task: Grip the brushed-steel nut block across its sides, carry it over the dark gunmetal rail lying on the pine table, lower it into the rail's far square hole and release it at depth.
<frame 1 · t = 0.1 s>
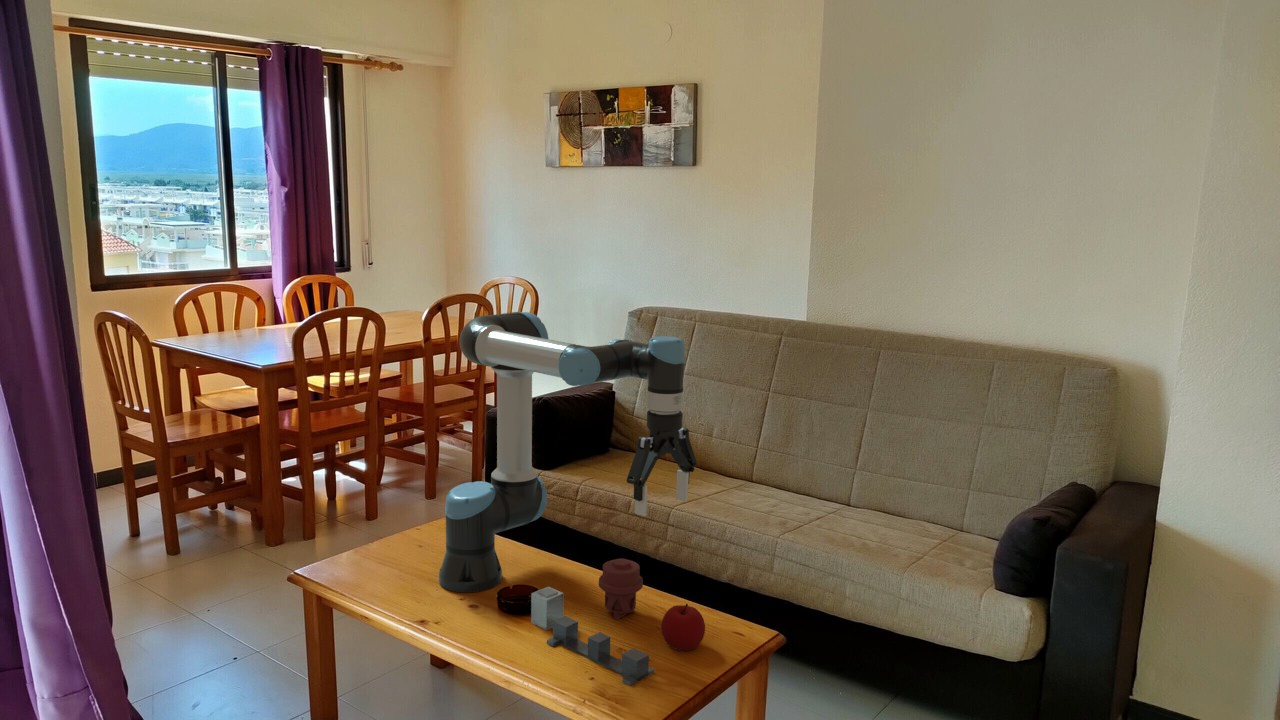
hand: (661, 507, 194), 28 cm above the table, fingers open, 13 cm apart
mechanical component: (620, 613, 206), on the table
apple: (682, 647, 191), on the table
nut block: (547, 623, 200), on the table
rail: (598, 657, 185), on the table
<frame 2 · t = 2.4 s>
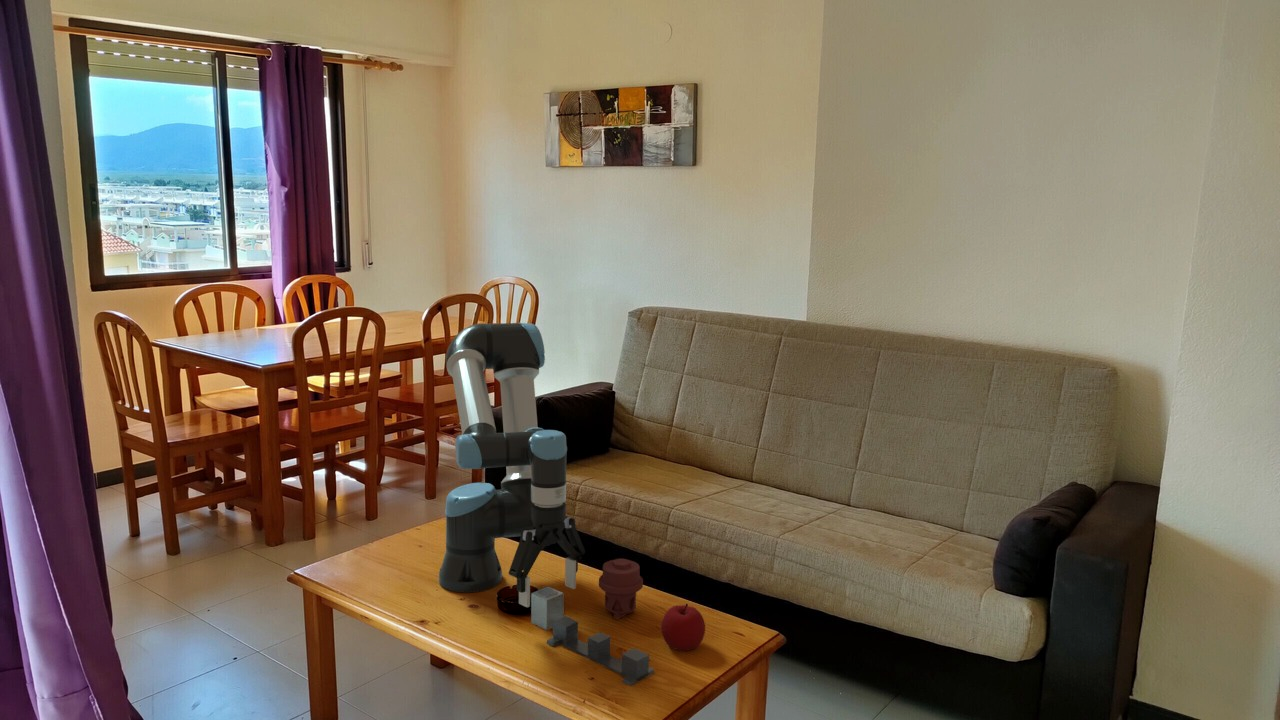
hand: (548, 596, 198), 7 cm above the table, fingers open, 13 cm apart
nothing on the table moved.
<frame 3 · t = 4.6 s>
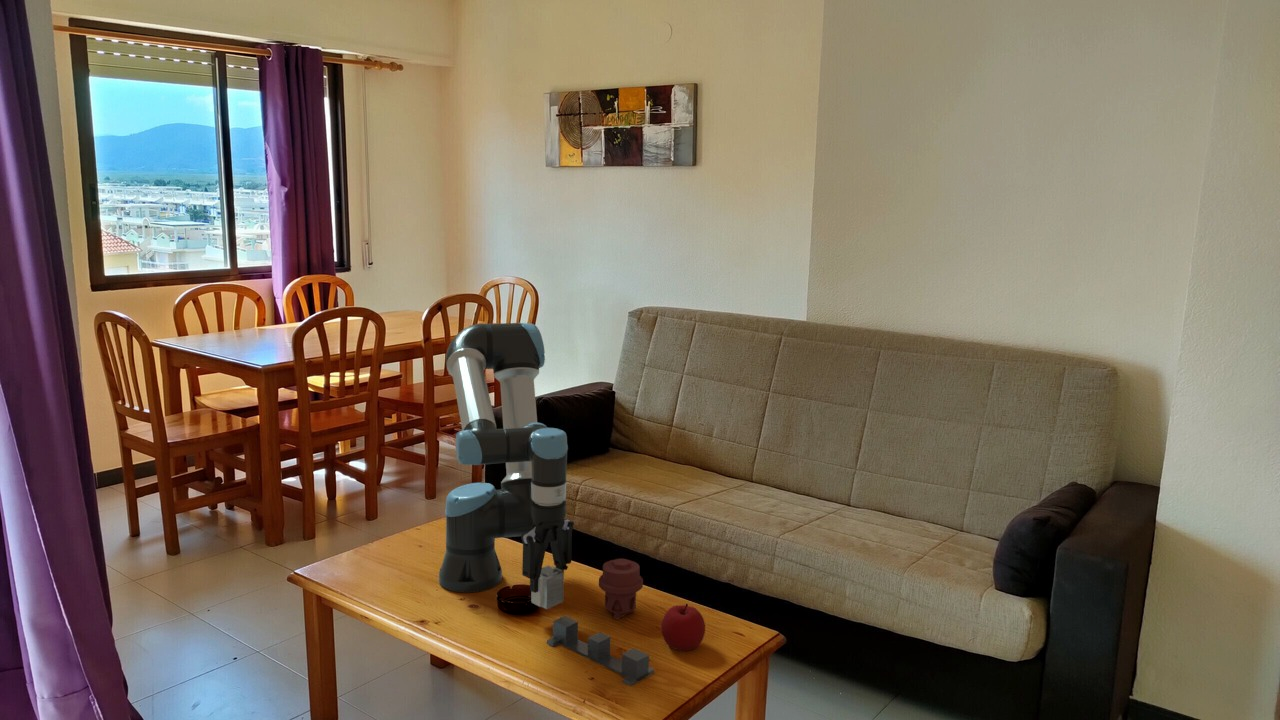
hand: (546, 599, 200), 5 cm above the table, fingers closed on nut block, 5 cm apart
nut block: (547, 601, 200), point 5 cm above the table, touching gripper
everything else where it was.
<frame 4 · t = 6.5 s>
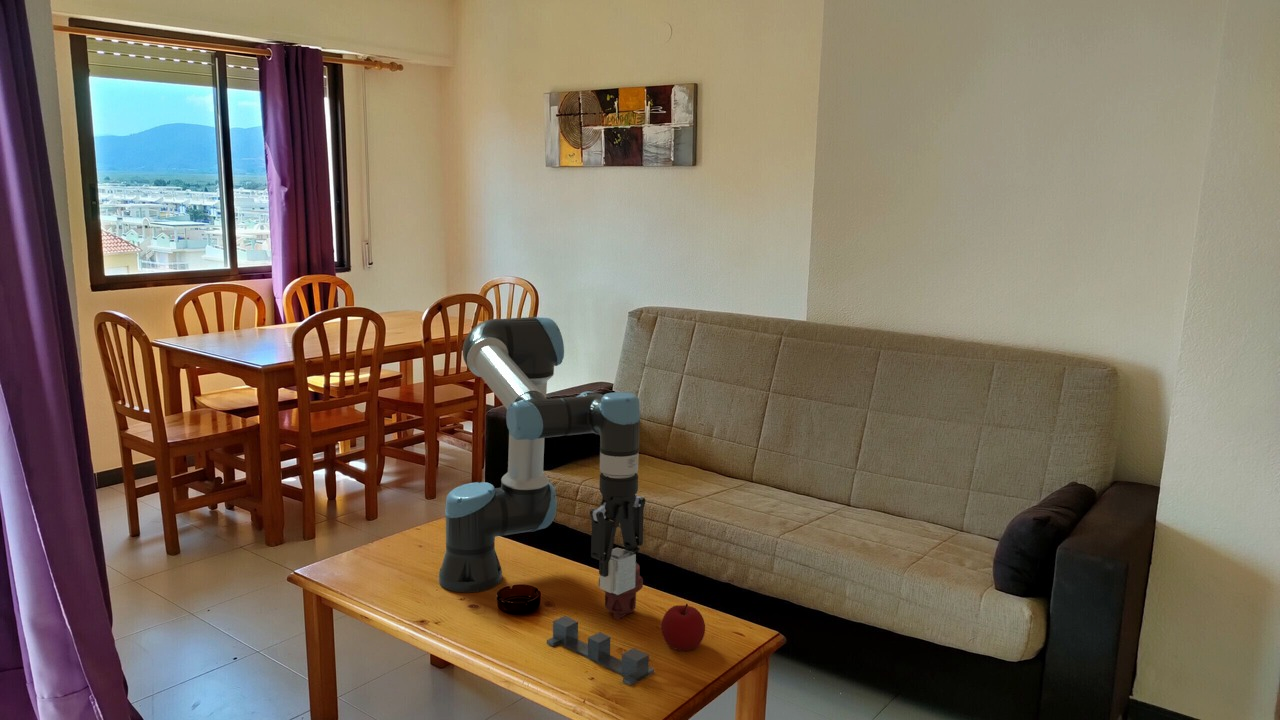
hand: (616, 585, 179), 17 cm above the table, fingers closed on nut block, 5 cm apart
nut block: (617, 587, 179), point 17 cm above the table, touching gripper
everything else where it was.
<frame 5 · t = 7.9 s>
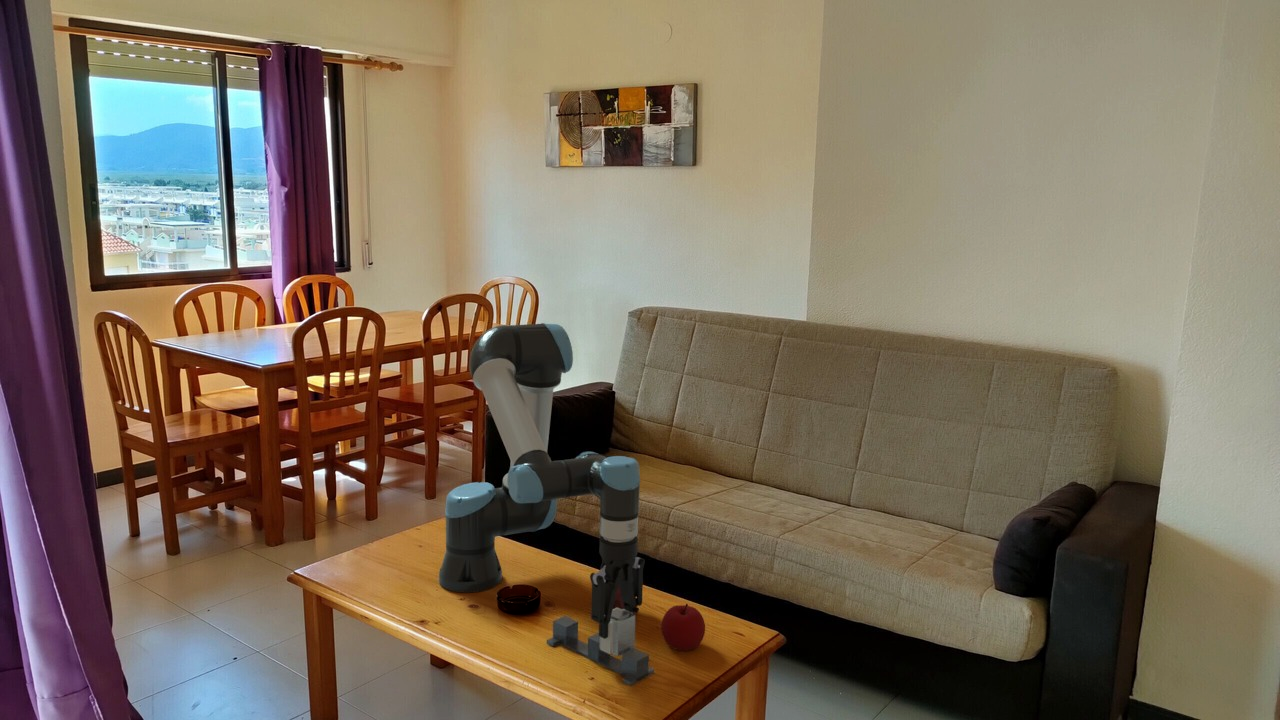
hand: (616, 646, 181), 4 cm above the table, fingers closed on nut block, 5 cm apart
nut block: (617, 647, 181), point 4 cm above the table, touching gripper
everything else where it was.
when the fingers open (1 cm above the table, at t = 8.7 s): nut block stays where it is, resting on rail.
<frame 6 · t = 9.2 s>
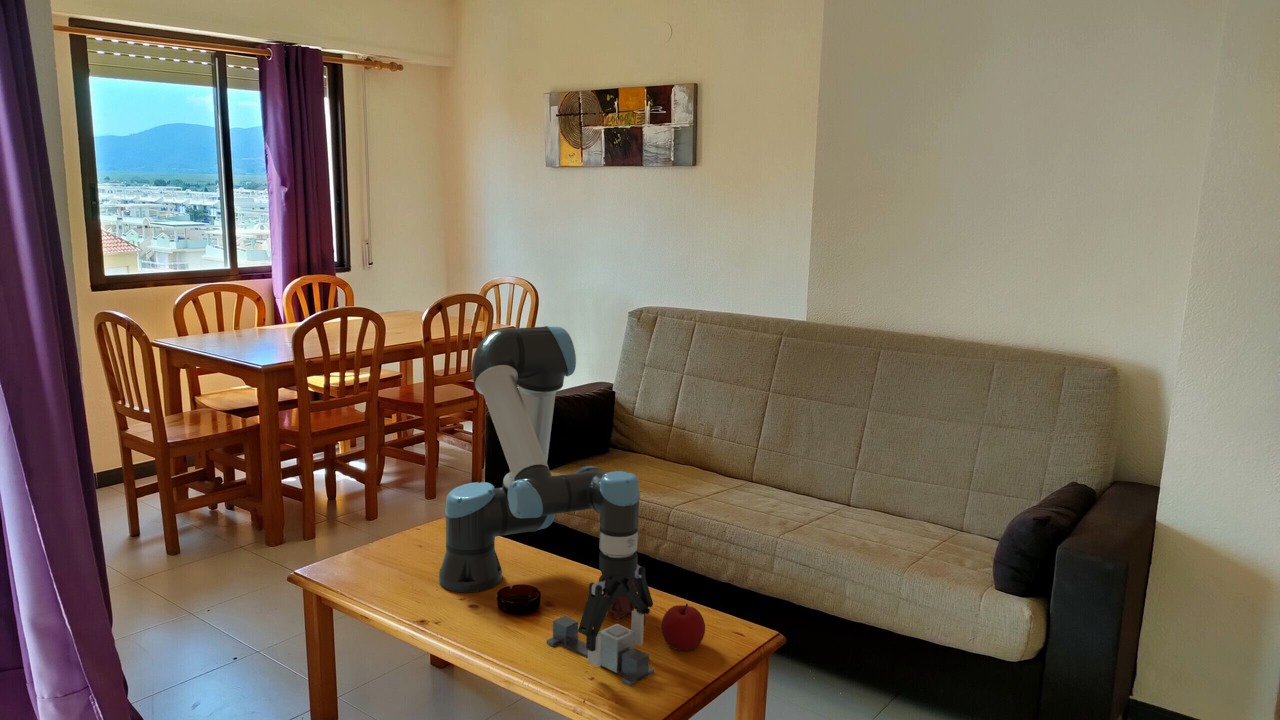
hand: (615, 653, 182), 3 cm above the table, fingers open, 12 cm apart
nut block: (616, 664, 182), resting on rail
everything else where it was.
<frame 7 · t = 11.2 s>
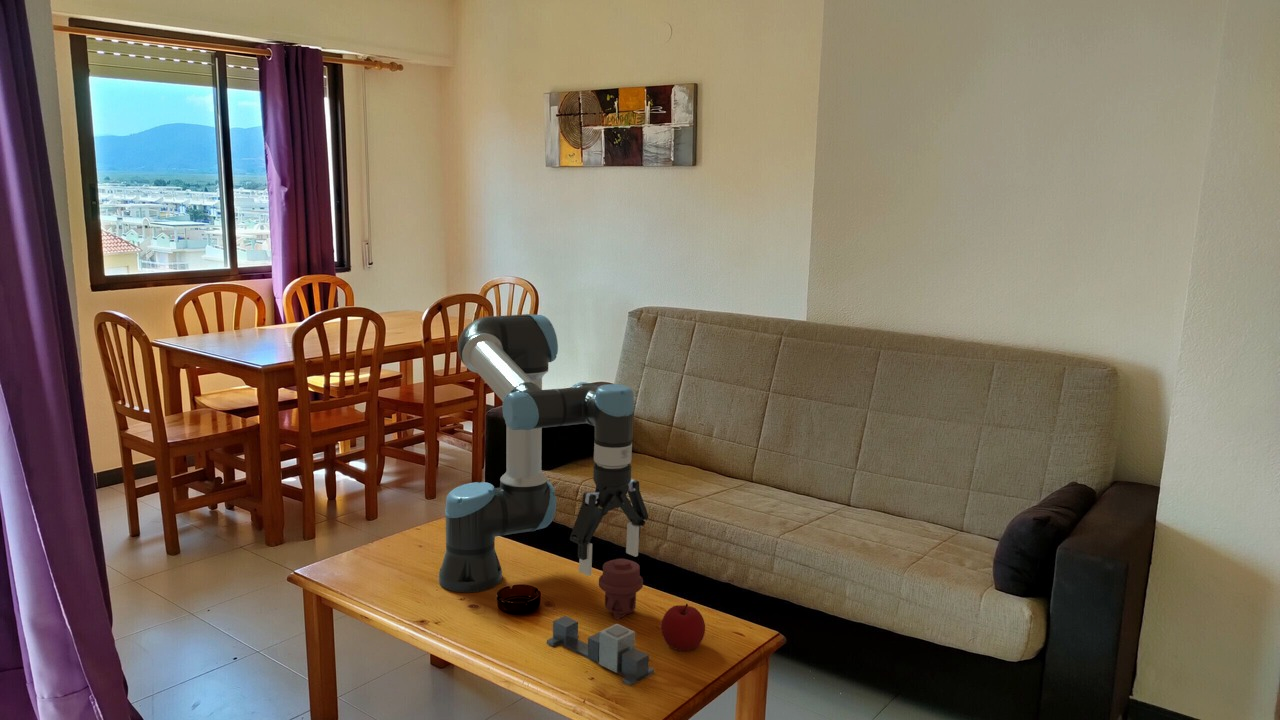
hand: (609, 563, 183), 20 cm above the table, fingers open, 13 cm apart
nothing on the table moved.
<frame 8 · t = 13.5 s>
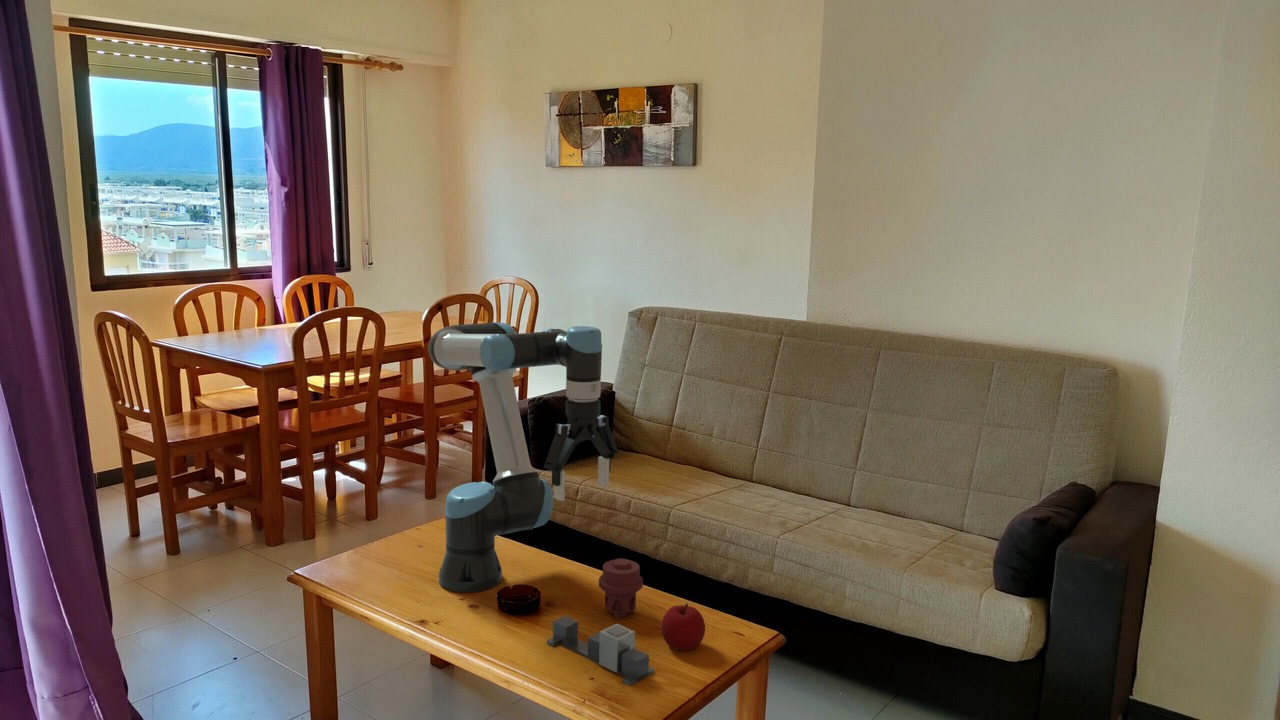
hand: (581, 492, 200), 29 cm above the table, fingers open, 13 cm apart
nothing on the table moved.
at the end: nut block 0.2 cm from the target spot on the rail, point 0.5 cm above the rail's base; nut block tilted 0°; the gripper is holding nothing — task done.
